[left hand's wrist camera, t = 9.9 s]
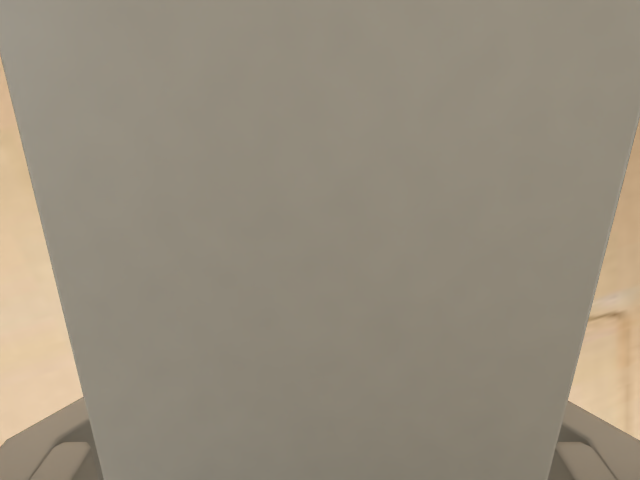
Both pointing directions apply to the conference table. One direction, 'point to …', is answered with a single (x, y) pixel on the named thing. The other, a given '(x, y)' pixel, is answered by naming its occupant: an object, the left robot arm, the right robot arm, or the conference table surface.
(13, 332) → the conference table surface
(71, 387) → the conference table surface
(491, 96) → the bar
